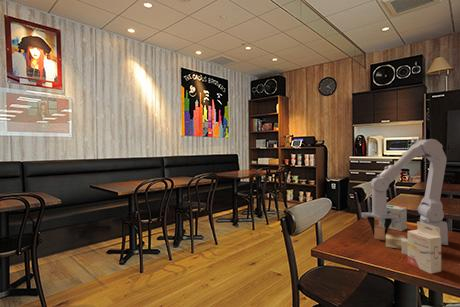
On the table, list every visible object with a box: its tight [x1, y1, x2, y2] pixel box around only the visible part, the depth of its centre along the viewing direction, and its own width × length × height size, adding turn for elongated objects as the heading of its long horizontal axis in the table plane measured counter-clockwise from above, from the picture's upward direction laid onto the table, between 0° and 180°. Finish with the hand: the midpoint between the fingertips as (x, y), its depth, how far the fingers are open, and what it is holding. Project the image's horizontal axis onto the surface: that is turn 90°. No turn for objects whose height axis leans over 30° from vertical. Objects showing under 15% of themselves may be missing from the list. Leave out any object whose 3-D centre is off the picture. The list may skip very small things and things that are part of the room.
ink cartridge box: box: [407, 221, 442, 274], centre depth 91 cm, size 9×5×15 cm, turn 17°
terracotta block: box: [373, 224, 386, 241], centre depth 120 cm, size 4×4×5 cm
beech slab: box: [385, 232, 407, 250], centre depth 111 cm, size 7×7×4 cm
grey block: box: [401, 237, 408, 256], centre depth 103 cm, size 4×4×5 cm
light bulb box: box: [378, 204, 408, 232], centre depth 134 cm, size 11×7×11 cm, turn 37°
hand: (379, 234), depth 120 cm, fingers closed on terracotta block, 4 cm apart
